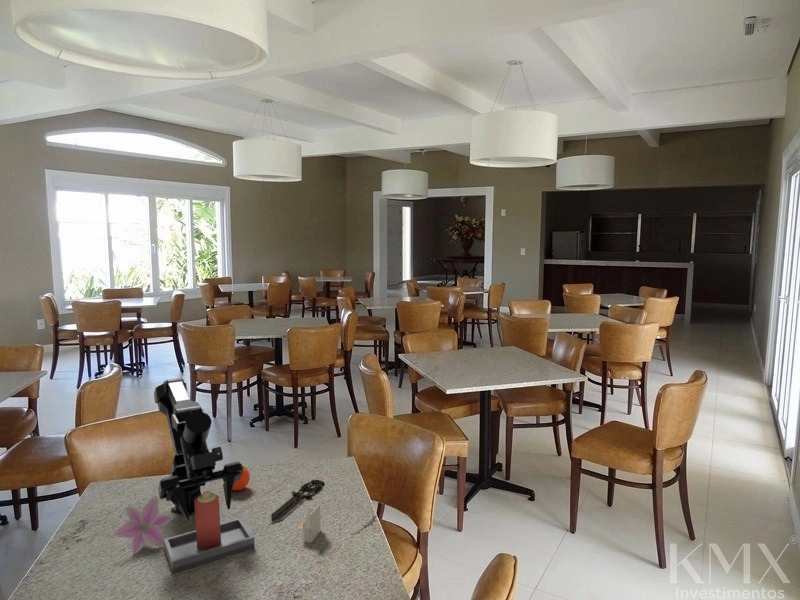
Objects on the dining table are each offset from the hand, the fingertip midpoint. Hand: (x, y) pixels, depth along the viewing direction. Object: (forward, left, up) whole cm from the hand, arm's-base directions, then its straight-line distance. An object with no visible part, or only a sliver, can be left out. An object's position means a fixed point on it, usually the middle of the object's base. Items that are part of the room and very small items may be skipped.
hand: (209, 514), depth 125 cm
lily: (-17, -5, -9) cm, 20 cm away
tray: (-1, +1, -9) cm, 9 cm away
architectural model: (+17, +16, -10) cm, 25 cm away
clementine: (-17, +27, -9) cm, 33 cm away
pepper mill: (-1, +1, -8) cm, 8 cm away
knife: (+3, +28, -10) cm, 30 cm away
